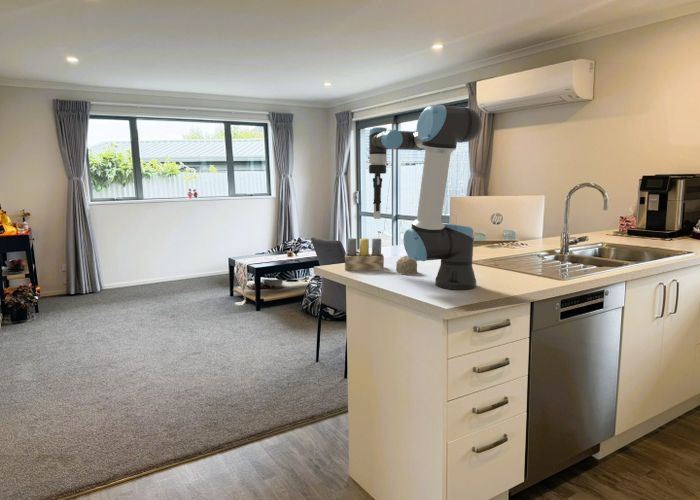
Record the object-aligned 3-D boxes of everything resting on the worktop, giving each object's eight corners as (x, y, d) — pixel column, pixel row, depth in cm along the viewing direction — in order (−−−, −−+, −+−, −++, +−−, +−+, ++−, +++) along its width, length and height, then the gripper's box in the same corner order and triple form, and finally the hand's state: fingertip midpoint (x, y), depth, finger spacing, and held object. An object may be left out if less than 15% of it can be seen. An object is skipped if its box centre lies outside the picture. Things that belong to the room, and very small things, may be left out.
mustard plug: (370, 259, 209) (370, 239, 207) (362, 259, 207) (362, 239, 205) (365, 257, 212) (366, 238, 211) (358, 258, 210) (358, 238, 209)
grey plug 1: (357, 259, 209) (358, 239, 207) (349, 259, 207) (349, 239, 205) (353, 257, 212) (353, 238, 211) (345, 258, 210) (345, 238, 209)
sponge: (403, 283, 198) (415, 266, 193) (388, 269, 202) (399, 251, 197) (414, 280, 205) (426, 263, 201) (399, 265, 209) (411, 248, 204)
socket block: (382, 266, 214) (382, 253, 213) (383, 270, 206) (383, 256, 205) (345, 266, 214) (345, 253, 213) (344, 270, 206) (345, 256, 205)
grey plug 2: (382, 259, 209) (382, 239, 207) (374, 260, 207) (375, 239, 205) (378, 257, 212) (378, 238, 211) (370, 258, 210) (370, 238, 209)
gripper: (368, 164, 211) (367, 216, 215) (369, 163, 195) (369, 219, 199) (385, 164, 211) (384, 216, 215) (387, 163, 195) (386, 220, 198)
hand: (376, 218), depth 207 cm, fingers open, 3 cm apart
